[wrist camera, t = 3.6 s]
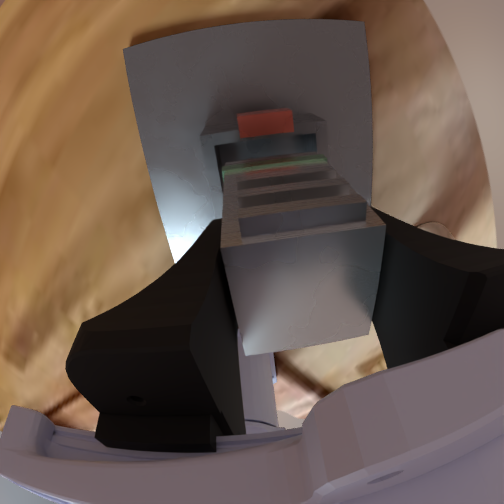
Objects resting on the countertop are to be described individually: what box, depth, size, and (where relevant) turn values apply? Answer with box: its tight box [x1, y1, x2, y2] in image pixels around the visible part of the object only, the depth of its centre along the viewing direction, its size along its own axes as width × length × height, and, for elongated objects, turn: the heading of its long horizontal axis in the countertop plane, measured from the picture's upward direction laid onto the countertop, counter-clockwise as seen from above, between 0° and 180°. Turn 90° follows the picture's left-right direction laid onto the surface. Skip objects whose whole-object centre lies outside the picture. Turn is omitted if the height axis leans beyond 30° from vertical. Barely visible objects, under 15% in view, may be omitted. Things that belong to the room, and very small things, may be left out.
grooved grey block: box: [221, 151, 386, 356], centre depth 11 cm, size 5×4×7 cm
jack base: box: [123, 19, 373, 263], centre depth 16 cm, size 18×14×5 cm
